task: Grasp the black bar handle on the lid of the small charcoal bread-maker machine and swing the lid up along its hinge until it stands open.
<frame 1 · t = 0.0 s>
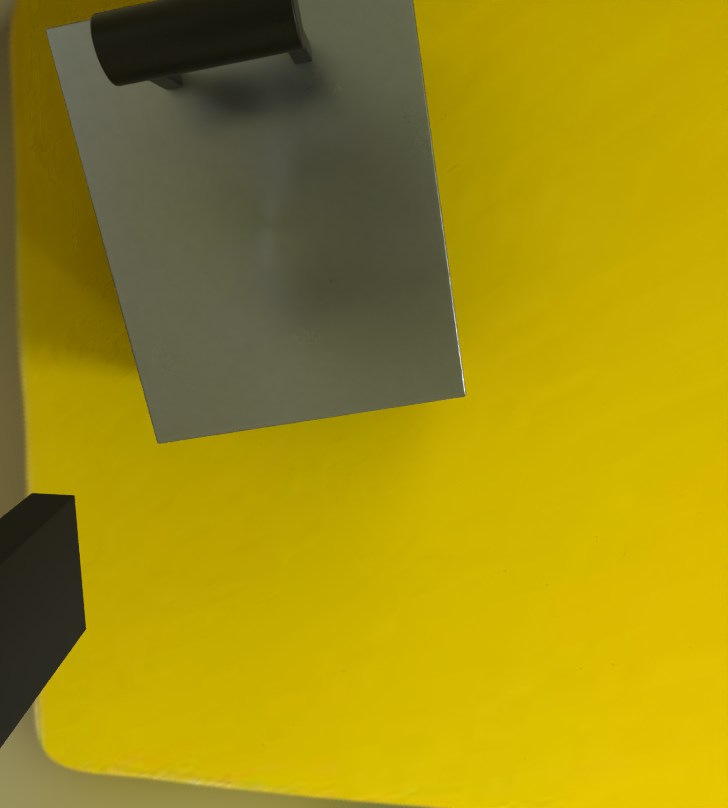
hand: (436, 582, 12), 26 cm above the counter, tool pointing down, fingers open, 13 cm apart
machine lid: (256, 225, 24), point 12 cm above the counter, hinge at 0.0°
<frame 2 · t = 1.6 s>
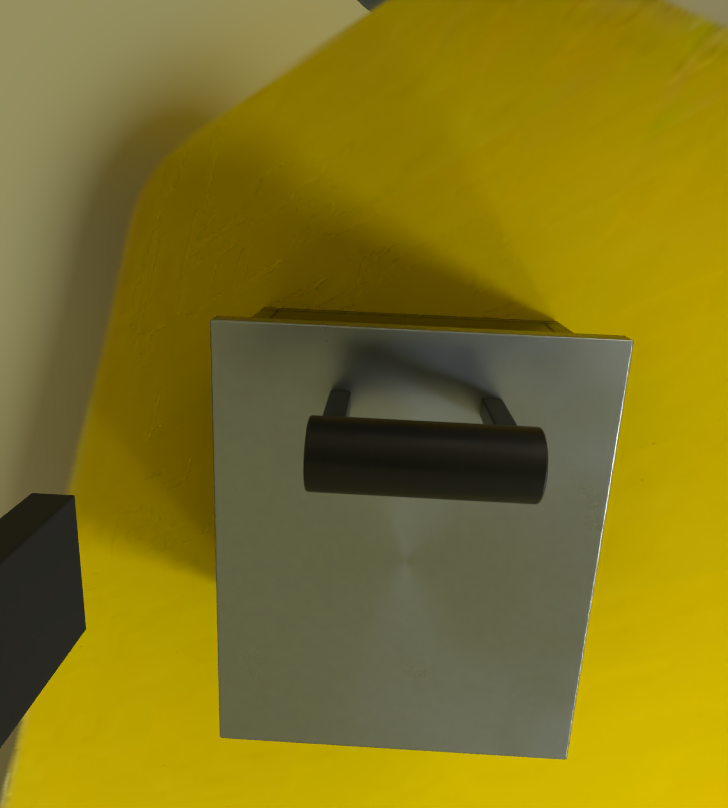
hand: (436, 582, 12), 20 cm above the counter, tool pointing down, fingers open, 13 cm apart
machine: (399, 470, 33), on the counter
machine lid: (406, 602, 21), point 12 cm above the counter, hinge at 0.0°
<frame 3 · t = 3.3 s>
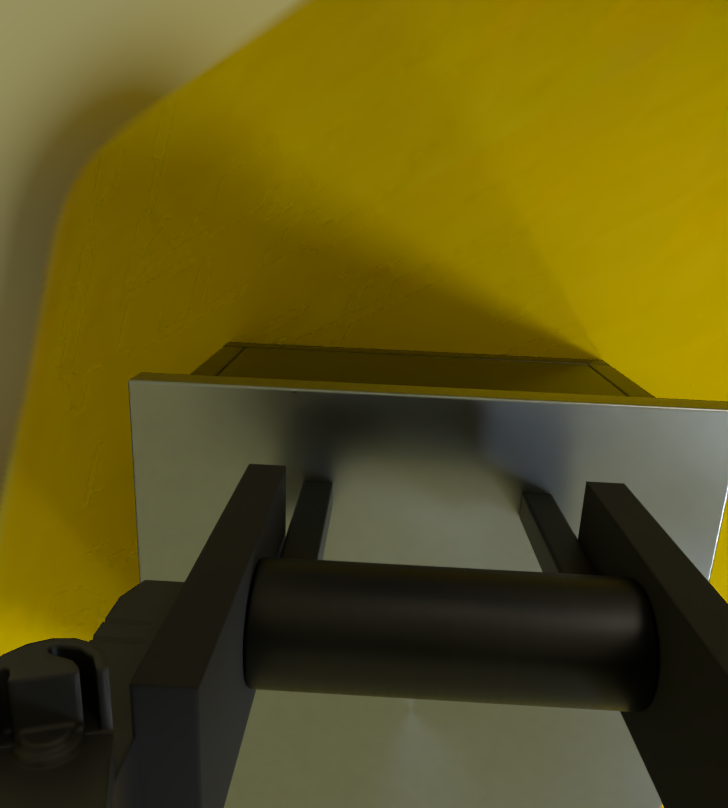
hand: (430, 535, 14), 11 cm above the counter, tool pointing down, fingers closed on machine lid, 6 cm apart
machine: (401, 544, 26), on the counter
machine lid: (414, 795, 15), point 12 cm above the counter, hinge at 0.0°, touching gripper
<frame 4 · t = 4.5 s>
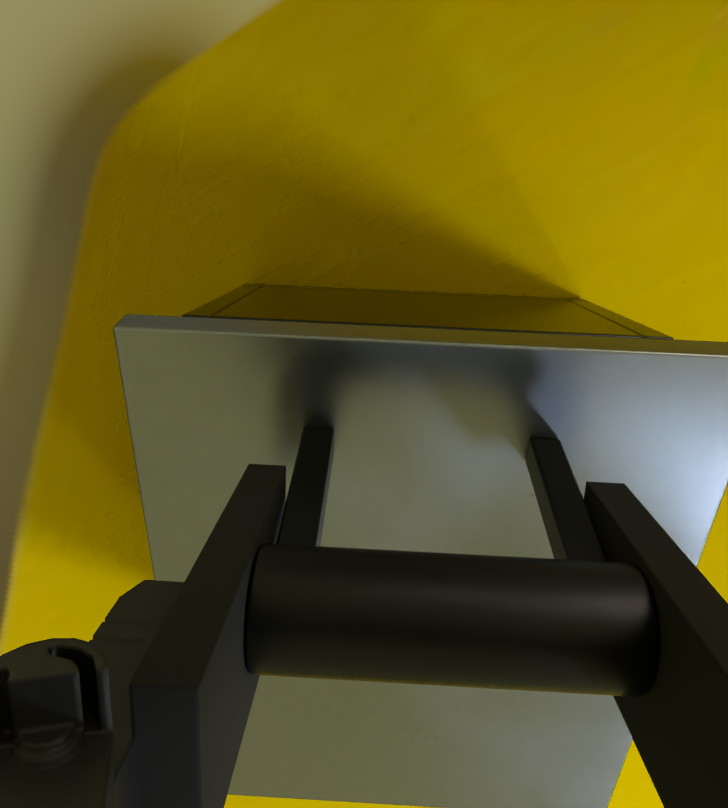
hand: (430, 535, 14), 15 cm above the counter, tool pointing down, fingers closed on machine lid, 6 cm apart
machine: (402, 472, 29), on the counter
machine lid: (414, 715, 16), point 14 cm above the counter, hinge at 13.8°, touching gripper
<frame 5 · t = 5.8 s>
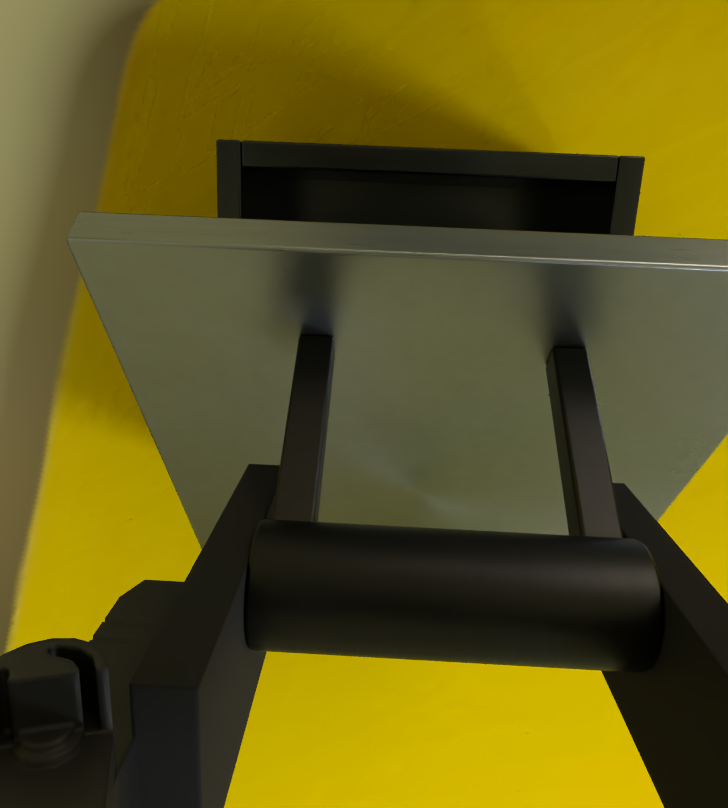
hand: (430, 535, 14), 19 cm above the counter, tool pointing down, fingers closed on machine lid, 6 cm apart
machine: (407, 339, 32), on the counter
machine lid: (418, 584, 17), point 17 cm above the counter, hinge at 37.6°, touching gripper
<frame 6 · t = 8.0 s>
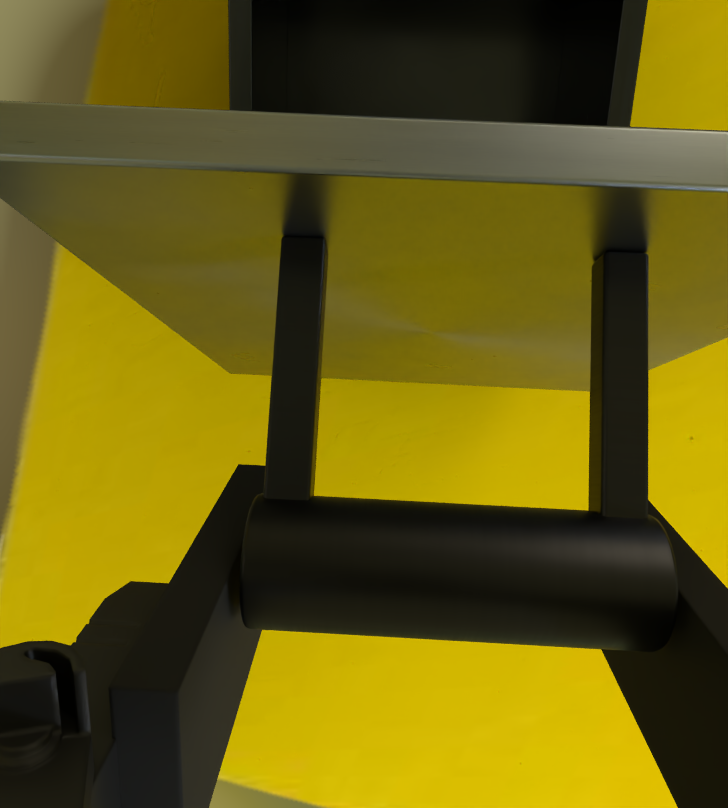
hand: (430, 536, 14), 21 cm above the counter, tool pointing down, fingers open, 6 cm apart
machine: (416, 164, 31), on the counter
machine lid: (426, 437, 16), point 18 cm above the counter, hinge at 66.9°
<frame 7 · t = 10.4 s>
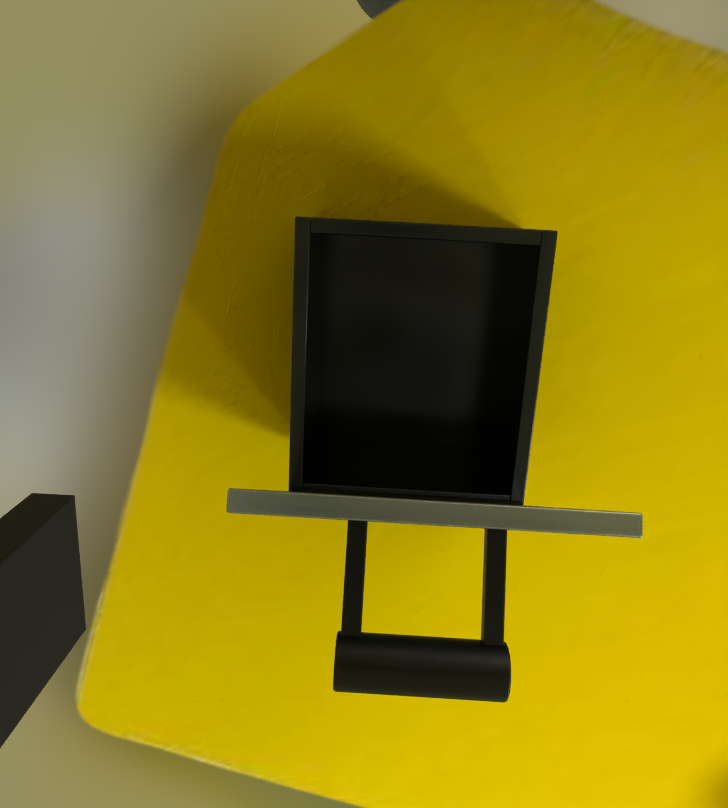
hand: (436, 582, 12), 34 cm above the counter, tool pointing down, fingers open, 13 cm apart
machine: (409, 342, 45), on the counter
machine lid: (412, 576, 30), point 18 cm above the counter, hinge at 66.9°
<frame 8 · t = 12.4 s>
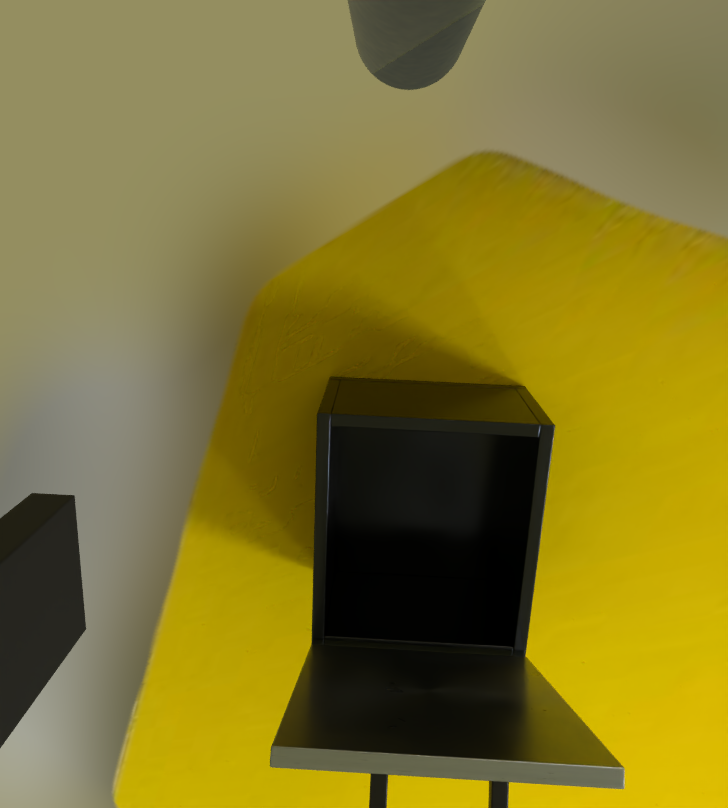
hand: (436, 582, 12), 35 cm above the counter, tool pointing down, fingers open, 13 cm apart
machine: (419, 484, 49), on the counter
machine lid: (426, 761, 34), point 18 cm above the counter, hinge at 66.9°
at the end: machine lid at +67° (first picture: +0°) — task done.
